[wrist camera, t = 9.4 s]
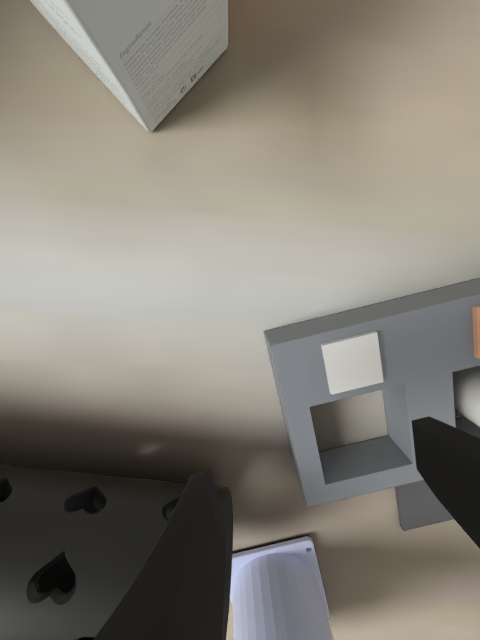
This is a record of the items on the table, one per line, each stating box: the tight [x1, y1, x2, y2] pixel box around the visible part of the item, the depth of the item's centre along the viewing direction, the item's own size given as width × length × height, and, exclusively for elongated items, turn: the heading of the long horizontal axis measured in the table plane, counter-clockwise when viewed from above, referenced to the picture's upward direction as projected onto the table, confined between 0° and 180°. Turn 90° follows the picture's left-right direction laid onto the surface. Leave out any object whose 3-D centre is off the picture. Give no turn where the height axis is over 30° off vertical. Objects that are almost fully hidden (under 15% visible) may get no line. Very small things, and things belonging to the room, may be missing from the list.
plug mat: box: [395, 480, 454, 531], centre depth 23 cm, size 7×7×1 cm
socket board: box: [264, 278, 480, 508], centre depth 19 cm, size 12×18×3 cm, turn 104°
